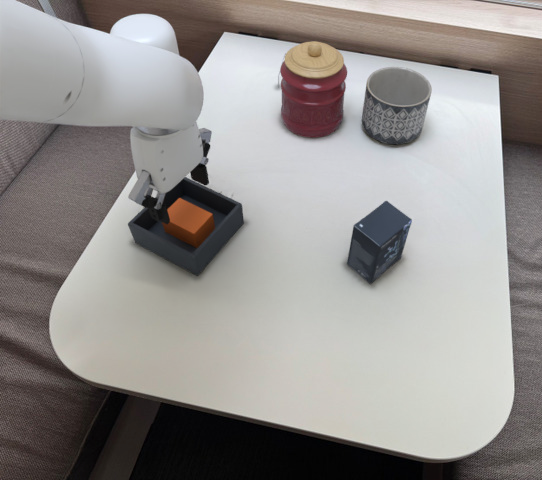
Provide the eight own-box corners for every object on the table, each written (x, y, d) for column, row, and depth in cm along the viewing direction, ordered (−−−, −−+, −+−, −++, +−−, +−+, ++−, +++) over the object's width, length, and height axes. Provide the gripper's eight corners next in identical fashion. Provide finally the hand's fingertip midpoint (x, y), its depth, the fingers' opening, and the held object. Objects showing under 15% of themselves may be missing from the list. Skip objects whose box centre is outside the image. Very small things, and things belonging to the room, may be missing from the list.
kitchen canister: (279, 100, 113) (278, 24, 99) (338, 98, 114) (345, 23, 100) (282, 140, 105) (281, 63, 91) (346, 138, 106) (354, 62, 92)
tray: (197, 276, 84) (192, 258, 80) (134, 242, 88) (127, 223, 84) (244, 222, 92) (241, 203, 88) (184, 193, 95) (179, 174, 91)
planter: (389, 156, 104) (398, 115, 95) (348, 123, 109) (353, 81, 101) (433, 132, 109) (445, 90, 101) (392, 101, 115) (399, 59, 106)
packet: (197, 248, 87) (194, 233, 84) (164, 231, 89) (160, 216, 86) (215, 228, 90) (212, 213, 87) (183, 212, 92) (179, 197, 89)
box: (370, 285, 85) (379, 246, 76) (346, 264, 87) (351, 224, 79) (401, 259, 88) (413, 219, 80) (377, 239, 91) (386, 198, 82)
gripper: (179, 71, 75) (196, 159, 89) (91, 138, 65) (125, 226, 79) (222, 88, 73) (232, 176, 86) (137, 160, 63) (164, 246, 77)
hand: (181, 200), depth 83 cm, fingers open, 9 cm apart
